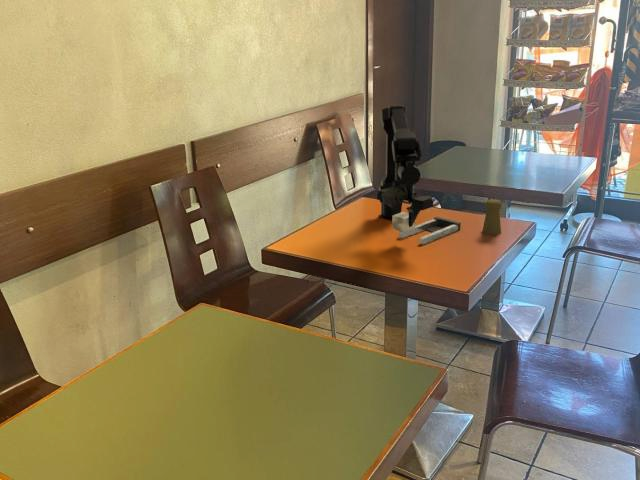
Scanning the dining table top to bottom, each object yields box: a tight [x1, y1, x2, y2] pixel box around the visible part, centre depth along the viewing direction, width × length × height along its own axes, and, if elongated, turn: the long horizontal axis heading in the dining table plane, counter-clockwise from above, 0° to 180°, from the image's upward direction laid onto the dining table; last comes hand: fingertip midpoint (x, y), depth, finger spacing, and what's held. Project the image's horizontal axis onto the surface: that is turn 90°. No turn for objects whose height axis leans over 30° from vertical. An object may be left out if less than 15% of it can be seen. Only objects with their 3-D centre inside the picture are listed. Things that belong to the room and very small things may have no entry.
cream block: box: [391, 211, 416, 233], centre depth 196 cm, size 5×5×4 cm
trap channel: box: [398, 216, 462, 246], centre depth 207 cm, size 10×20×2 cm, turn 132°
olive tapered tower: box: [481, 198, 503, 236], centre depth 205 cm, size 6×6×11 cm
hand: (404, 224), depth 197 cm, fingers closed on cream block, 5 cm apart
